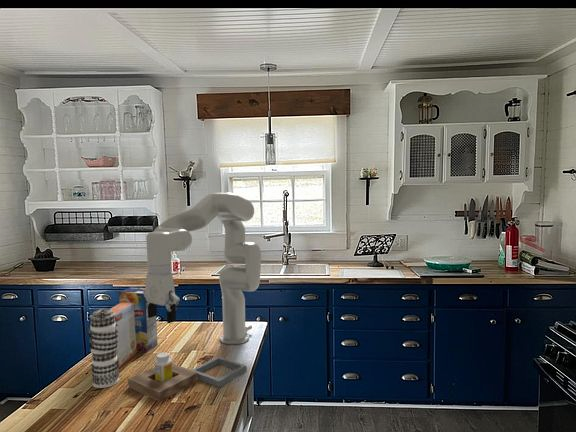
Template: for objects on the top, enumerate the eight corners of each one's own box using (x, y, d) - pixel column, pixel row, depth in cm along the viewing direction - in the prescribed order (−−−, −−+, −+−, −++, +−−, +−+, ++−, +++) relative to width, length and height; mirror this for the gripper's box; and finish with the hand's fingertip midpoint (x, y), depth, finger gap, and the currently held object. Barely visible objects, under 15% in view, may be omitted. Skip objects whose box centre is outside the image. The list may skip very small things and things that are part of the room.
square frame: (218, 361, 159) (218, 356, 158) (246, 371, 151) (246, 365, 150) (190, 376, 147) (190, 370, 147) (219, 387, 139) (219, 381, 139)
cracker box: (123, 352, 168) (120, 301, 166) (137, 353, 167) (134, 302, 165) (103, 368, 154) (100, 313, 152) (118, 369, 153) (116, 313, 151)
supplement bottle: (173, 379, 145) (172, 350, 144) (171, 387, 139) (169, 357, 138) (157, 380, 144) (156, 351, 143) (153, 388, 139) (152, 358, 138)
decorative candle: (92, 378, 146) (88, 308, 144) (120, 373, 150) (117, 305, 147) (90, 390, 138) (85, 316, 136) (120, 385, 141) (116, 312, 139)
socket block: (167, 369, 153) (167, 361, 152) (198, 381, 144) (197, 372, 143) (128, 387, 140) (128, 378, 139) (159, 401, 130) (159, 392, 130)
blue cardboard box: (121, 349, 171) (118, 292, 169) (132, 342, 178) (129, 287, 176) (147, 352, 168) (145, 293, 166) (157, 344, 175) (155, 288, 173)
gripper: (133, 268, 140) (136, 318, 142) (167, 274, 130) (170, 327, 132) (152, 264, 146) (154, 311, 148) (186, 269, 136) (188, 321, 138)
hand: (161, 319), depth 140 cm, fingers open, 9 cm apart
